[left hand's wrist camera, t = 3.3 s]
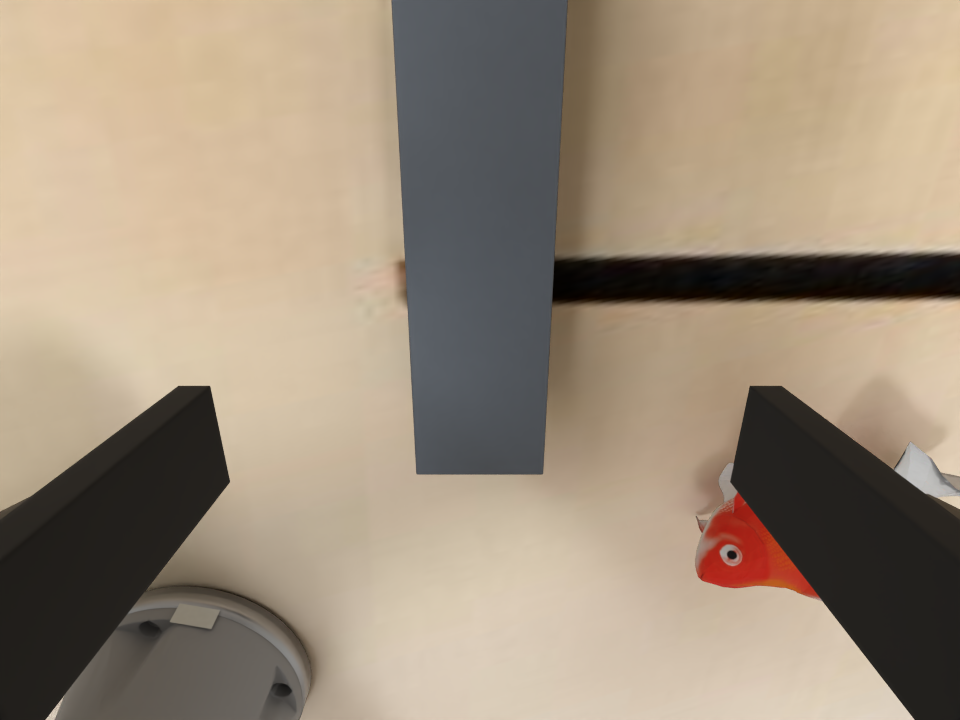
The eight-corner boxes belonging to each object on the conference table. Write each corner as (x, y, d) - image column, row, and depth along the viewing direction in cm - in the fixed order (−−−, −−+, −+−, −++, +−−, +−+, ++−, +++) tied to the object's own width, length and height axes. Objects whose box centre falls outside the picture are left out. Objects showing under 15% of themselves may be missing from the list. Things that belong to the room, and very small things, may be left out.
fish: (715, 399, 24) (909, 601, 18) (899, 364, 31) (1091, 503, 24) (627, 522, 31) (744, 702, 25) (794, 472, 38) (921, 604, 31)
